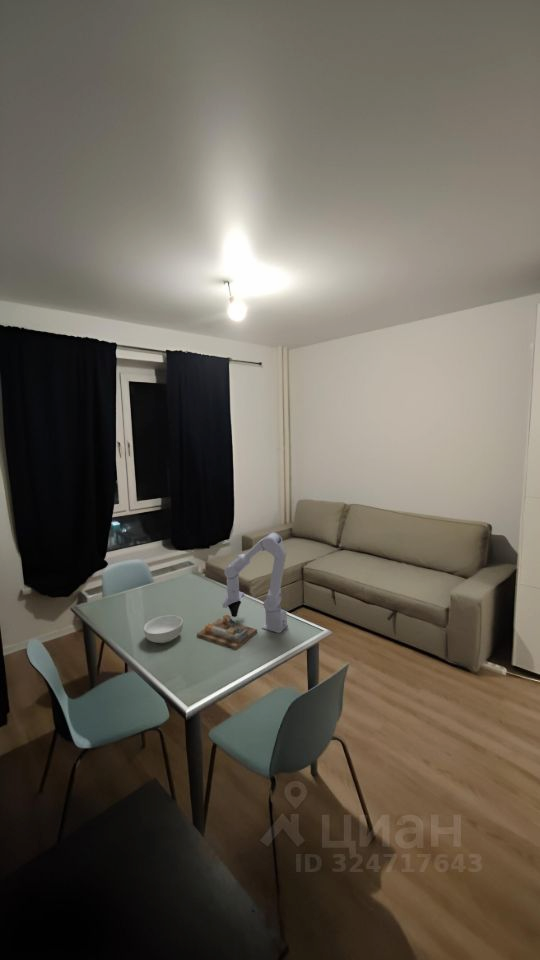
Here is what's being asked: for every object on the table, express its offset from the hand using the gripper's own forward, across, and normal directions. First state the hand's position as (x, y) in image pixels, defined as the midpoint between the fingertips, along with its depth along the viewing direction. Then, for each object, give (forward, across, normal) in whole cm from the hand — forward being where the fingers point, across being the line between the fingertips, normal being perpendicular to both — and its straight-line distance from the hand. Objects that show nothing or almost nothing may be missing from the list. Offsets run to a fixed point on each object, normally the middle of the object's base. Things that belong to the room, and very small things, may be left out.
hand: (234, 616), depth 184 cm
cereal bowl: (+3, +27, -19) cm, 33 cm away
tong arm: (+1, +8, +5) cm, 10 cm away
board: (+3, +11, +4) cm, 12 cm away
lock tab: (-2, +15, +10) cm, 18 cm away
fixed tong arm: (+2, +13, +5) cm, 14 cm away
